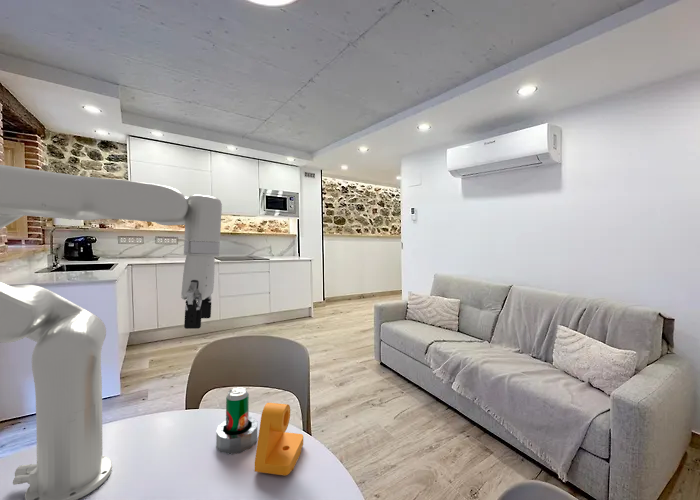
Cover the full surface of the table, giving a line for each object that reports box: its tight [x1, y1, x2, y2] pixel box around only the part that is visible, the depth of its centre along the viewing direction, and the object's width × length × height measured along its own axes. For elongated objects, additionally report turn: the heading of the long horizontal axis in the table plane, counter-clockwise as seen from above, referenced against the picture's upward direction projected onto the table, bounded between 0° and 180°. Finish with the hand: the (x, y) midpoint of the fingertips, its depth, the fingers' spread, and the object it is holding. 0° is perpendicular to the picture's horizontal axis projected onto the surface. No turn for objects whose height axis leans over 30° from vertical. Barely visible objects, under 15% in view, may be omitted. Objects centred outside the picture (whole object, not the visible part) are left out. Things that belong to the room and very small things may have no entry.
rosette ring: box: [215, 416, 258, 455], centre depth 74 cm, size 9×9×4 cm
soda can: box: [225, 386, 250, 435], centre depth 74 cm, size 5×5×12 cm
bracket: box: [254, 402, 304, 476], centre depth 68 cm, size 11×7×12 cm, turn 171°
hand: (198, 322), depth 72 cm, fingers open, 9 cm apart
